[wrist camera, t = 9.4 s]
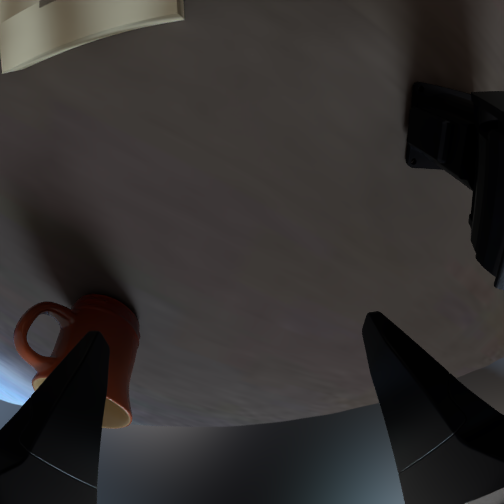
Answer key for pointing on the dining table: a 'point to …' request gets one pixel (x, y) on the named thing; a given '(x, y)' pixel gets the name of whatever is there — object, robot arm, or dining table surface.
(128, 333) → the mug
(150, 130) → the dining table surface
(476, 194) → the robot arm
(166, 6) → the socket board
